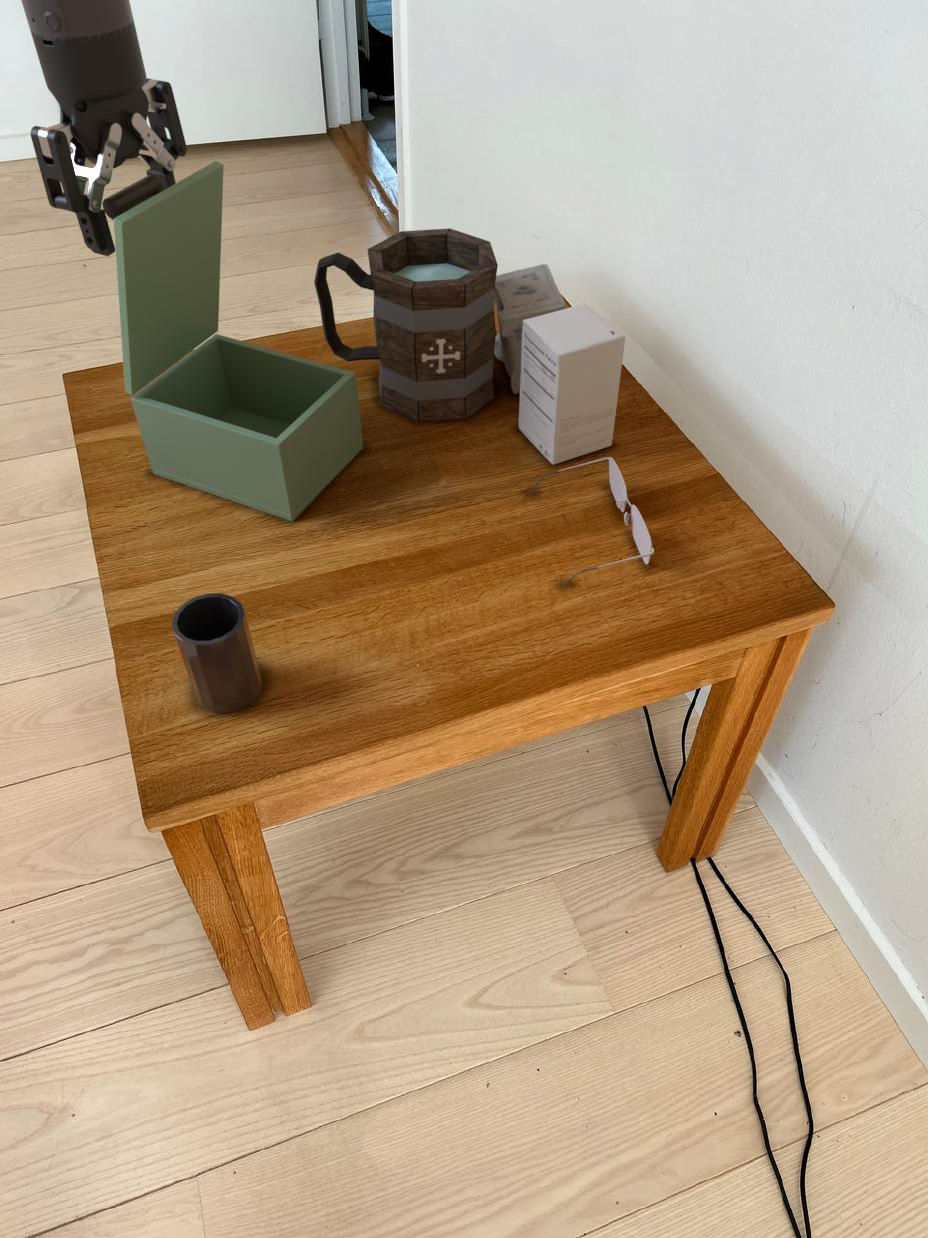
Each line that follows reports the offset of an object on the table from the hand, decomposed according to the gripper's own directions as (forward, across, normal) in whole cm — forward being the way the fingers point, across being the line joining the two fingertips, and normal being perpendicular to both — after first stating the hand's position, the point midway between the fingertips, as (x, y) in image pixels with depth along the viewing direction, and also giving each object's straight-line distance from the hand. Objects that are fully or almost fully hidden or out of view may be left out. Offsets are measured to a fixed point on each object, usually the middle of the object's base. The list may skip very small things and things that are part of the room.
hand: (137, 232), depth 81 cm
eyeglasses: (+22, -4, +42) cm, 48 cm away
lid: (+4, 0, +3) cm, 5 cm away
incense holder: (+22, -27, +26) cm, 44 cm away
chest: (+22, 0, +9) cm, 23 cm away
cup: (+22, +26, +24) cm, 41 cm away
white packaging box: (+22, -17, +35) cm, 45 cm away
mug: (+22, -19, +16) cm, 33 cm away
